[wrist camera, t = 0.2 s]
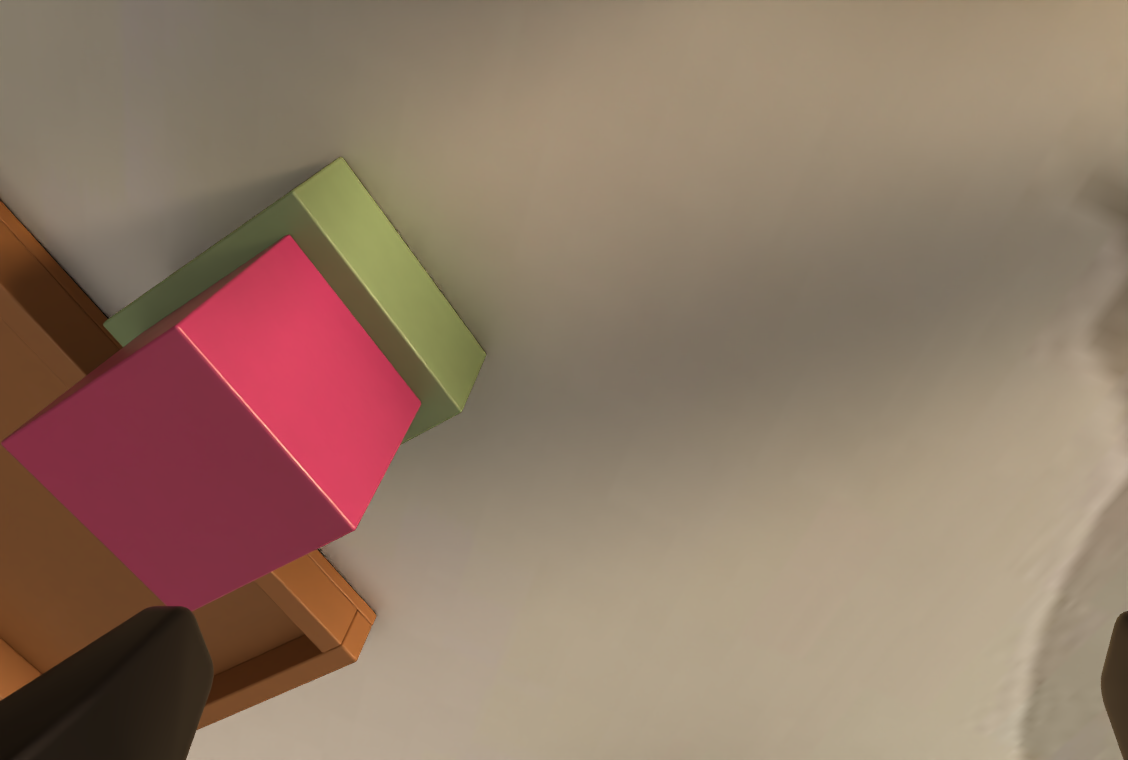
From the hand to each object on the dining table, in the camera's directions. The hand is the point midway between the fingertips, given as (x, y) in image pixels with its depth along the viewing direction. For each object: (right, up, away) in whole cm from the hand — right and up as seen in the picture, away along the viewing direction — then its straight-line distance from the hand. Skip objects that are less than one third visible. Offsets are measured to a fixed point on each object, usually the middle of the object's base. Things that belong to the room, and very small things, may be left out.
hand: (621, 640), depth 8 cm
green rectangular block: (-7, +4, +15) cm, 17 cm away
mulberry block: (-7, +3, +12) cm, 15 cm away
